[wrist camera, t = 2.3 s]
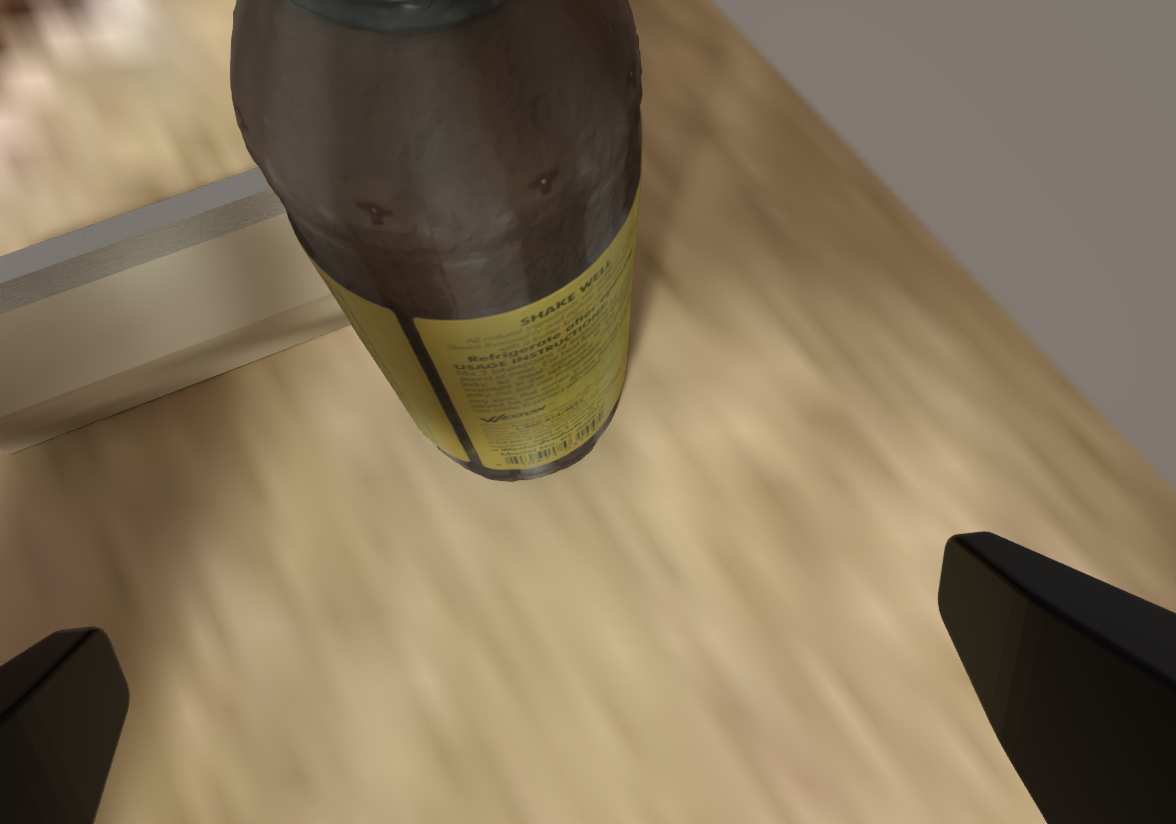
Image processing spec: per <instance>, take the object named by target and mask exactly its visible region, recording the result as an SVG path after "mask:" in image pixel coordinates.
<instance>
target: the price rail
mask: <svg viewBox="0 0 1176 824" xmlns="http://www.w3.org/2000/svg"><path fill="white" fill-rule="evenodd" d="M284 213H287V212H286V208H285V207H284V205H283V204H282V203H281V201H280V199H279V197H278V196H277V195H276V194H275V193H274V191H273V190H272V188H271V187H270V186H269V184H268V182H267V180H266V178H265V176H264V175H263V173H262V171H261V170H260V168H259V167H258V168H255V169H252V170H249V171H247V172H244V173H241V174H238V175H235V176H232V177H229V178H226V179H223V180H220V181H218V182H215V183H212V184H209V185H206V186H203V187H200V188H197V189H194V190H192V191H189V192H186V193H183V194H180V195H177V196H174V197H171V198H168V199H165V200H163V201H160V202H157V203H154V204H151V205H148V206H145V207H142V208H139V209H137V210H134V211H131V212H128V213H125V214H122V215H119V216H116V217H113V218H110V219H108V220H105V221H102V222H99V223H96V224H93V225H90V226H87V227H84V228H82V229H79V230H76V231H73V232H70V233H67V234H64V235H61V236H58V237H55V238H53V239H50V240H47V241H44V242H41V243H38V244H35V245H32V246H29V247H27V248H24V249H21V250H18V251H15V252H12V253H9V254H6V255H3V256H1V257H0V314H3V313H6V312H9V311H12V310H14V309H17V308H20V307H23V306H26V305H29V304H31V303H34V302H37V301H40V300H43V299H45V298H48V297H51V296H54V295H57V294H59V293H62V292H65V291H68V290H71V289H73V288H76V287H79V286H82V285H85V284H88V283H90V282H93V281H96V280H99V279H102V278H104V277H107V276H110V275H113V274H116V273H118V272H121V271H124V270H127V269H130V268H132V267H135V266H138V265H141V264H144V263H147V262H149V261H152V260H155V259H158V258H161V257H163V256H166V255H169V254H172V253H175V252H177V251H180V250H183V249H186V248H189V247H191V246H194V245H197V244H200V243H203V242H206V241H208V240H211V239H214V238H217V237H220V236H222V235H225V234H228V233H231V232H234V231H236V230H239V229H242V228H245V227H248V226H250V225H253V224H256V223H259V222H262V221H265V220H267V219H270V218H273V217H276V216H279V215H281V214H284Z"/></svg>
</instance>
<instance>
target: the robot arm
mask: <svg viewBox="0 0 1176 824" xmlns="http://www.w3.org/2000/svg"><path fill="white" fill-rule="evenodd" d="M938 606H939V611H940V615H941V617H942V620H943V622H944V624H945V627H946V629H947V631H948V633H949V635H950V637H951V640H952V642H953V644H954V646H955V648H956V650H957V653H958V655H959V657H960V659H961V661H962V663H963V666H964V668H965V670H966V672H967V674H968V676H969V679H970V681H971V683H972V685H973V687H974V689H975V692H976V694H977V696H978V698H979V700H980V703H981V705H982V707H983V709H984V711H985V713H986V716H987V718H988V720H989V722H990V724H991V726H992V728H993V730H994V732H995V734H996V736H997V738H998V740H999V742H1000V744H1001V746H1002V747H1003V749H1004V751H1005V753H1006V754H1007V756H1008V758H1009V760H1010V761H1011V763H1012V765H1013V767H1014V768H1015V770H1016V772H1017V773H1018V775H1019V777H1020V778H1021V780H1022V782H1023V783H1024V785H1025V787H1026V788H1027V790H1028V792H1029V793H1030V795H1031V797H1032V798H1033V800H1034V802H1035V803H1036V805H1037V807H1038V808H1039V810H1040V812H1041V814H1042V815H1043V817H1044V819H1045V820H1046V822H1047V824H1176V613H1174V612H1172V611H1169V610H1167V609H1165V608H1162V607H1160V606H1158V605H1156V604H1153V603H1151V602H1149V601H1146V600H1144V599H1142V598H1140V597H1137V596H1135V595H1133V594H1130V593H1128V592H1126V591H1124V590H1121V589H1119V588H1117V587H1114V586H1112V585H1110V584H1108V583H1105V582H1103V581H1101V580H1098V579H1096V578H1094V577H1092V576H1089V575H1087V574H1085V573H1082V572H1080V571H1078V570H1076V569H1073V568H1071V567H1069V566H1066V565H1064V564H1062V563H1060V562H1057V561H1055V560H1053V559H1050V558H1048V557H1046V556H1044V555H1041V554H1039V553H1037V552H1034V551H1032V550H1030V549H1028V548H1025V547H1023V546H1021V545H1018V544H1016V543H1014V542H1012V541H1009V540H1007V539H1005V538H1002V537H1000V536H998V535H996V534H993V533H991V532H984V531H983V532H974V533H964V534H956V535H953V536H952V537H950V538H949V539H948V541H947V543H946V545H945V549H944V556H943V563H942V570H941V577H940V584H939V591H938ZM128 707H129V688H128V684H127V681H126V679H125V676H124V674H123V671H122V669H121V666H120V664H119V661H118V659H117V656H116V654H115V651H114V649H113V646H112V644H111V642H110V639H109V637H108V635H107V633H106V632H105V631H104V630H102V629H101V628H98V627H83V628H74V629H65V630H59V631H56V632H54V633H52V634H50V635H49V636H47V637H46V638H44V639H43V640H41V641H39V642H38V643H36V644H35V645H33V646H32V647H30V648H28V649H27V650H25V651H24V652H22V653H20V654H19V655H17V656H16V657H14V658H13V659H11V660H9V661H8V662H6V663H5V664H3V665H2V666H0V824H94V821H95V818H96V814H97V811H98V808H99V804H100V801H101V798H102V794H103V791H104V788H105V784H106V781H107V778H108V775H109V771H110V768H111V765H112V761H113V758H114V755H115V751H116V748H117V745H118V742H119V738H120V735H121V732H122V728H123V725H124V722H125V718H126V715H127V712H128Z"/></svg>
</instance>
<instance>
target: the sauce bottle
mask: <svg viewBox="0 0 1176 824" xmlns="http://www.w3.org/2000/svg"><path fill="white" fill-rule="evenodd" d="M641 74H642V68H641V58H640V50H639V37H638V35H637V34H636V27H635V24H634V19H633V14H632V11H631V8H630V5H629V2H628V0H237V2H236V6H235V9H234V12H233V31H232V38H231V60H230V84H231V91H232V100H233V105H234V110H235V115H236V119H237V124H238V127H239V128H240V130H241V132H242V136H243V139H244V141H245V144H246V148H247V150H248V152H249V153H250V155H251V157H252V159H253V160H254V162H255V163H256V164H257V165H258V166H259V168H260V170H261V171H262V173H263V175H264V176H265V178H266V180H267V182H268V184H269V186H270V187H271V188H272V190H273V191H274V193H275V194H276V195H277V196H278V197H279V199H280V201H281V203H282V204H283V205H284V207H285V208H286V212H287V215H288V219H289V222H290V224H291V226H292V229H293V231H294V233H295V235H296V238H297V240H298V242H299V244H300V245H301V247H302V249H303V250H304V252H305V253H306V255H307V256H308V258H309V259H310V261H311V262H312V264H313V265H314V267H315V268H316V270H317V272H318V273H319V275H320V276H321V278H322V279H323V281H324V282H325V284H326V285H327V287H328V288H329V290H330V292H331V293H332V295H333V296H334V298H335V300H336V301H337V303H338V304H339V306H340V308H341V309H342V311H343V312H344V314H345V315H346V317H347V319H348V320H349V322H350V323H351V325H352V327H353V328H354V330H355V331H356V333H357V335H358V336H359V338H360V339H361V341H362V342H363V344H364V345H365V347H366V348H367V350H368V351H369V353H370V354H371V356H372V357H373V359H374V360H375V362H376V363H377V365H378V366H379V368H380V369H381V371H382V372H383V374H384V376H385V377H386V379H387V380H388V382H389V383H390V385H391V386H392V388H393V389H394V391H395V392H396V394H397V395H398V397H399V399H400V400H401V402H402V404H403V405H404V407H405V408H406V410H407V411H408V413H409V414H410V416H411V417H412V419H413V420H414V422H415V423H416V425H417V426H418V428H419V429H420V430H421V431H422V432H423V433H424V435H425V436H426V437H427V438H429V439H430V440H431V441H432V442H433V443H434V444H436V446H437V447H438V449H440V450H441V451H442V452H443V453H444V454H445V455H447V456H448V457H449V458H451V459H452V460H454V461H455V462H456V463H458V464H460V465H461V466H463V467H464V468H465V469H468V470H470V471H472V472H474V473H476V474H479V475H481V476H483V477H485V478H487V479H491V480H499V481H510V482H513V481H517V480H528V479H533V478H537V477H543V476H546V475H549V474H552V473H555V472H557V471H559V470H562V469H565V468H568V467H569V466H571V465H573V464H575V463H576V462H578V461H580V460H581V459H582V458H584V457H585V456H586V455H587V454H588V453H589V452H590V451H591V450H592V449H593V447H594V445H595V444H596V442H597V440H598V439H599V437H600V436H601V435H602V434H603V432H604V431H605V430H606V428H607V427H608V425H609V423H610V422H611V420H612V418H613V416H614V413H615V411H616V409H617V405H618V402H619V398H620V392H621V389H622V386H623V382H624V378H625V372H626V366H627V353H628V340H629V327H630V312H631V297H632V282H633V270H634V259H635V247H636V235H637V223H638V210H639V198H640V186H641V169H642V146H643V132H642V117H641V110H640V103H641V99H642V86H641Z"/></svg>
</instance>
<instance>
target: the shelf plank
mask: <svg viewBox="0 0 1176 824" xmlns="http://www.w3.org/2000/svg"><path fill="white" fill-rule="evenodd" d="M350 324H351V323H350V322H349V320H348V319H347V317H346V315H345V314H344V312H343V311H342V309H341V308H340V306H339V304H338V303H337V301H336V300H335V298H334V296H333V295H332V293H331V292H330V290H329V288H328V287H327V285H326V284H325V282H324V281H323V279H322V278H321V276H320V275H319V273H318V272H317V270H316V268H315V267H314V265H313V264H312V262H311V261H310V259H309V258H308V256H307V255H306V253H305V252H304V250H303V249H302V247H301V245H300V244H299V242H298V240H297V238H296V235H295V233H294V231H293V229H292V226H291V224H290V222H289V219H288V215H287V213H284V214H281V215H279V216H276V217H273V218H270V219H267V220H265V221H262V222H259V223H256V224H253V225H250V226H248V227H245V228H242V229H239V230H236V231H234V232H231V233H228V234H225V235H222V236H220V237H217V238H214V239H211V240H208V241H206V242H203V243H200V244H197V245H194V246H191V247H189V248H186V249H183V250H180V251H177V252H175V253H172V254H169V255H166V256H163V257H161V258H158V259H155V260H152V261H149V262H147V263H144V264H141V265H138V266H135V267H132V268H130V269H127V270H124V271H121V272H118V273H116V274H113V275H110V276H107V277H104V278H102V279H99V280H96V281H93V282H90V283H88V284H85V285H82V286H79V287H76V288H73V289H71V290H68V291H65V292H62V293H59V294H57V295H54V296H51V297H48V298H45V299H43V300H40V301H37V302H34V303H31V304H29V305H26V306H23V307H20V308H17V309H14V310H12V311H9V312H6V313H3V314H0V450H2V451H4V452H6V453H9V454H12V453H15V452H17V451H20V450H22V449H25V448H28V447H30V446H33V445H36V444H38V443H41V442H43V441H46V440H49V439H51V438H54V437H57V436H59V435H62V434H64V433H67V432H70V431H72V430H75V429H78V428H80V427H83V426H85V425H88V424H91V423H93V422H96V421H98V420H101V419H104V418H106V417H109V416H112V415H114V414H117V413H119V412H122V411H125V410H127V409H130V408H133V407H135V406H138V405H140V404H143V403H146V402H148V401H151V400H154V399H156V398H159V397H161V396H164V395H167V394H169V393H172V392H174V391H177V390H180V389H182V388H185V387H188V386H190V385H193V384H195V383H198V382H201V381H203V380H206V379H209V378H211V377H214V376H216V375H219V374H222V373H224V372H227V371H230V370H232V369H235V368H237V367H240V366H243V365H245V364H248V363H250V362H253V361H256V360H258V359H261V358H264V357H266V356H269V355H271V354H274V353H277V352H279V351H282V350H285V349H287V348H290V347H292V346H295V345H298V344H300V343H303V342H306V341H308V340H311V339H313V338H316V337H319V336H321V335H324V334H326V333H329V332H332V331H334V330H337V329H340V328H342V327H345V326H347V325H350Z"/></svg>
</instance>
